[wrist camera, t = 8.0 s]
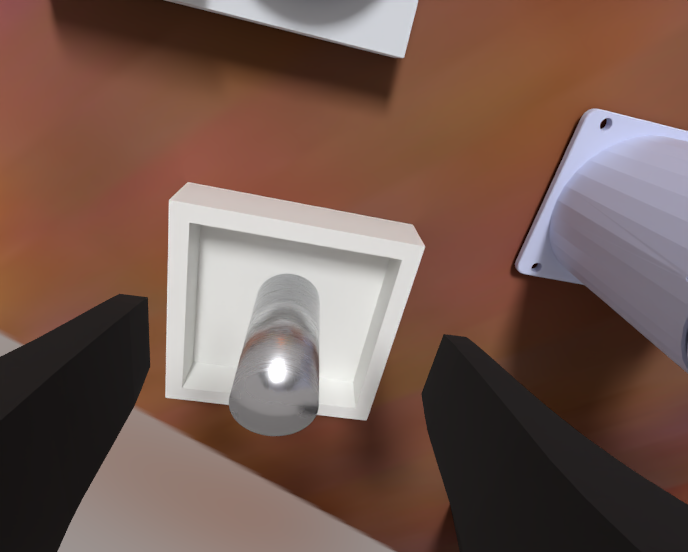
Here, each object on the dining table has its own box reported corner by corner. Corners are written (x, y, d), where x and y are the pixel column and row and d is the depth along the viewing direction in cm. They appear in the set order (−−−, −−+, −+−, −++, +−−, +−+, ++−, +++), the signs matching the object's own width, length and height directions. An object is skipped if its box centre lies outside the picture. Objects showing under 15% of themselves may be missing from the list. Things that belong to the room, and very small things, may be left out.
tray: (413, 224, 20) (425, 246, 18) (362, 386, 25) (366, 420, 22) (188, 182, 18) (169, 199, 16) (180, 363, 23) (165, 397, 21)
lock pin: (320, 274, 20) (319, 371, 14) (319, 327, 22) (318, 435, 15) (254, 272, 20) (224, 371, 14) (258, 326, 21) (232, 436, 15)
